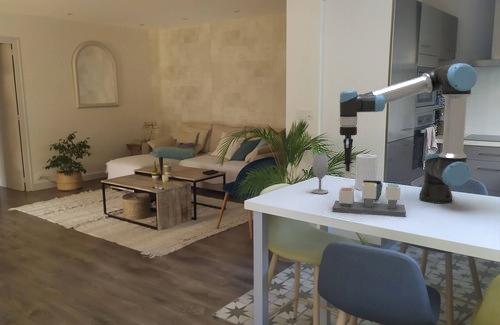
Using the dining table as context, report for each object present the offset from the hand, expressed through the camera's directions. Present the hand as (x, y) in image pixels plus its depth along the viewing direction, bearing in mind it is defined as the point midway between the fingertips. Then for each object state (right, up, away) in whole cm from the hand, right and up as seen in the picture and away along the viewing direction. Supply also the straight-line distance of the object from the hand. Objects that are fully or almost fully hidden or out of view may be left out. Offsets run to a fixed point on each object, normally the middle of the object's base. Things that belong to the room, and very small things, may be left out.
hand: (347, 177), depth 194 cm
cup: (+19, -8, +42) cm, 47 cm away
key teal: (+19, -9, -4) cm, 21 cm away
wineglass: (-7, -9, +34) cm, 36 cm away
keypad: (+9, -15, -1) cm, 17 cm away
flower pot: (+16, -12, +18) cm, 27 cm away
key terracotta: (0, -11, +2) cm, 11 cm away
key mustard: (+9, -8, -2) cm, 13 cm away
